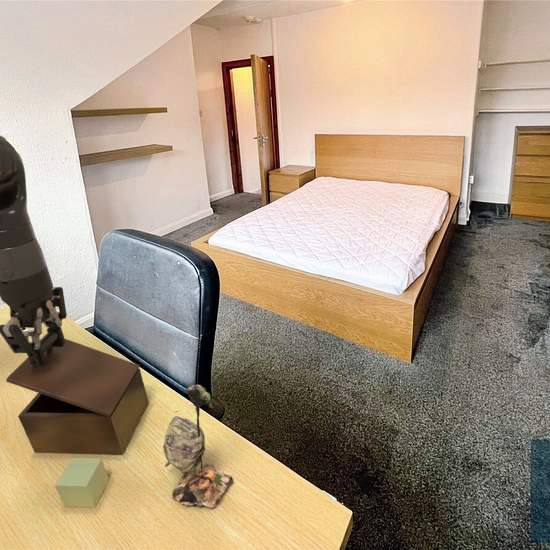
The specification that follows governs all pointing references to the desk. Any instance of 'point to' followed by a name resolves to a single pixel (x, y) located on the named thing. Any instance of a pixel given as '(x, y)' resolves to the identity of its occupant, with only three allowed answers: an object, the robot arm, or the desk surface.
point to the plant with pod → (193, 457)
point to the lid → (77, 375)
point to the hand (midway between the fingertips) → (49, 355)
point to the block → (82, 482)
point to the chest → (84, 423)
